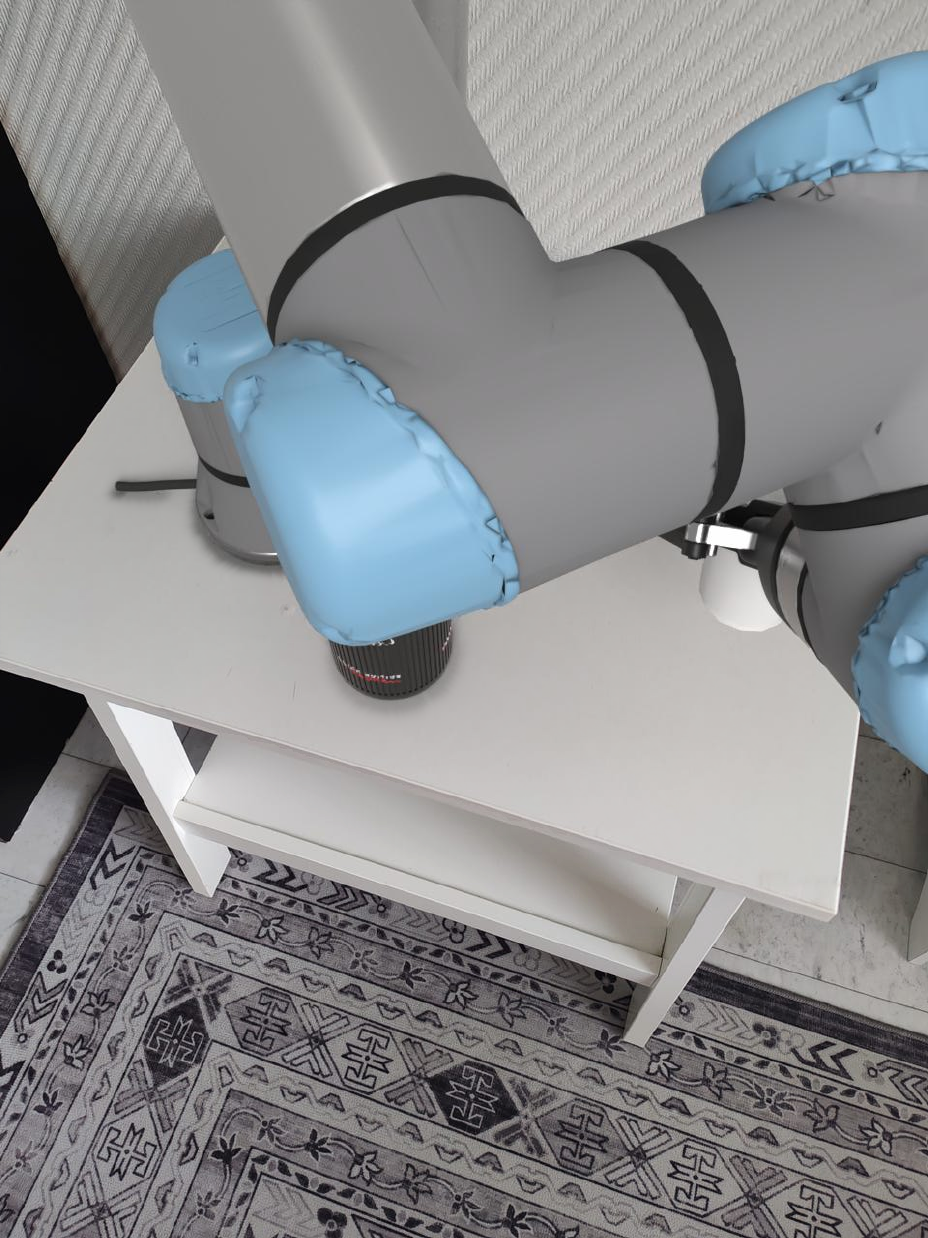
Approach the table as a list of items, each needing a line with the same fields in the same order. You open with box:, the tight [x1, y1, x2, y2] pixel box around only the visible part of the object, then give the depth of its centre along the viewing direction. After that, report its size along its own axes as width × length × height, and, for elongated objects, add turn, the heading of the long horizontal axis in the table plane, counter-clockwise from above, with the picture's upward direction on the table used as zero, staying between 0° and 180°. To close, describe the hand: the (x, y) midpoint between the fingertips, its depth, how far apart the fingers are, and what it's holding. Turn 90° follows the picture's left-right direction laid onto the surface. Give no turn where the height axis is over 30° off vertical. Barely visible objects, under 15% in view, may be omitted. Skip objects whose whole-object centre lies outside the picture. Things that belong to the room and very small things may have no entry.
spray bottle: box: [327, 618, 454, 702], centre depth 63 cm, size 10×10×25 cm
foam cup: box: [698, 488, 787, 632], centre depth 55 cm, size 10×9×13 cm
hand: (766, 512), depth 58 cm, fingers closed on foam cup, 9 cm apart
